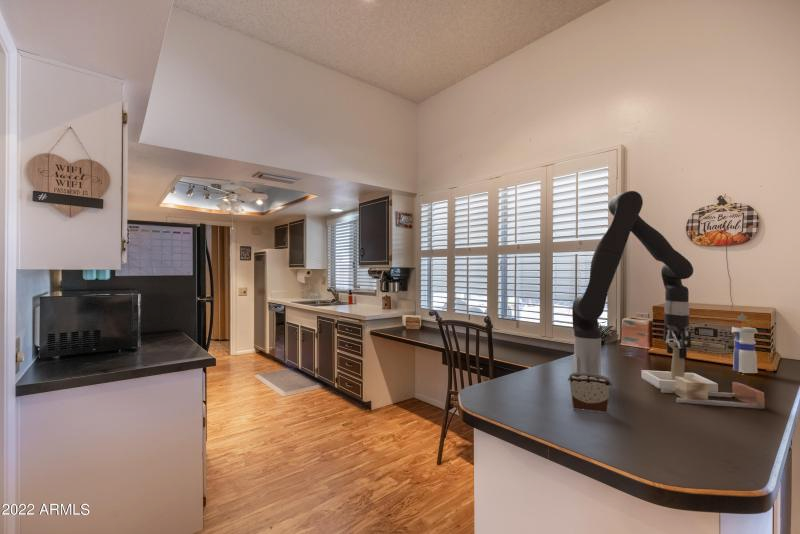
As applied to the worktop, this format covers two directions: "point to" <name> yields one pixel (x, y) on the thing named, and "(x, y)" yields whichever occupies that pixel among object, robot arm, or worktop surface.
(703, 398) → the block
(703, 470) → the worktop surface
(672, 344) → the handle
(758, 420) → the worktop surface
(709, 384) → the tray
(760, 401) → the track
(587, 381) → the food container
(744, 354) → the water bottle
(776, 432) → the worktop surface
